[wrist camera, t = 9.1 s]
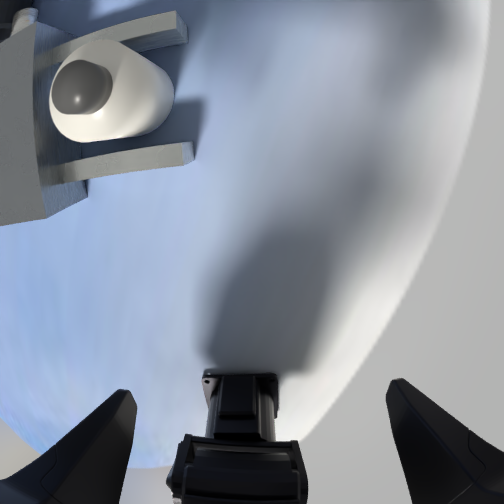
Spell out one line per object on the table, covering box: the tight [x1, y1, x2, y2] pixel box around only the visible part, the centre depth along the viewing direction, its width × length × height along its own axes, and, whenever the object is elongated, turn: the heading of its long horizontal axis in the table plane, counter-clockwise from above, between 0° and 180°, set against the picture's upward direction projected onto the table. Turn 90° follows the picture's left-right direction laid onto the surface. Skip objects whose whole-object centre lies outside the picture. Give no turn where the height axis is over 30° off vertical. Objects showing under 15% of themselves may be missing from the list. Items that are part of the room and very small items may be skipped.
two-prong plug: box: [0, 8, 194, 226], centre depth 13 cm, size 15×15×5 cm
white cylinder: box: [49, 39, 174, 142], centre depth 12 cm, size 5×5×8 cm
